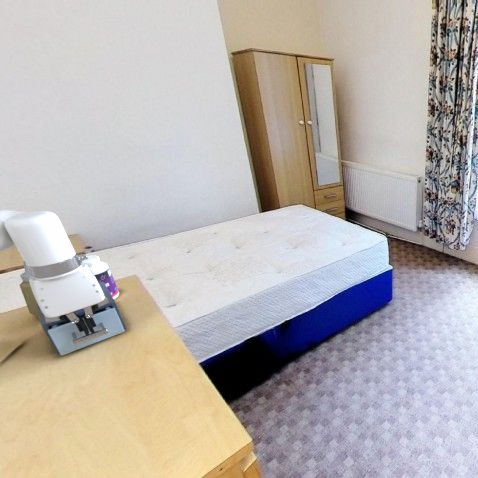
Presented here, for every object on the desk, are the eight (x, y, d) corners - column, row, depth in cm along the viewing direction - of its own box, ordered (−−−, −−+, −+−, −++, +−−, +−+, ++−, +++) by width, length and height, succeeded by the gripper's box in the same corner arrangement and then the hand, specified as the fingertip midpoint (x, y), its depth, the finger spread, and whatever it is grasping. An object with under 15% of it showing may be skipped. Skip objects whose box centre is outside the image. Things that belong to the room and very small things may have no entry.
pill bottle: (84, 310, 96) (63, 268, 90) (87, 298, 101) (68, 258, 96) (120, 301, 101) (103, 260, 95) (120, 289, 106) (104, 251, 100)
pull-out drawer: (129, 340, 84) (120, 317, 81) (64, 366, 75) (50, 342, 72) (113, 310, 95) (104, 289, 92) (54, 330, 86) (42, 308, 83)
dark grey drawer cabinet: (126, 328, 89) (114, 301, 86) (58, 355, 80) (41, 325, 76) (114, 307, 98) (103, 281, 94) (51, 328, 88) (36, 300, 85)
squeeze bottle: (46, 309, 96) (17, 256, 88) (81, 304, 98) (55, 252, 91) (27, 326, 89) (-6, 270, 81) (65, 320, 91) (36, 265, 84)
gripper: (98, 250, 79) (125, 311, 86) (3, 273, 68) (43, 340, 76) (103, 259, 75) (132, 322, 82) (3, 285, 64) (46, 355, 71)
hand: (89, 331), depth 79 cm, fingers closed
